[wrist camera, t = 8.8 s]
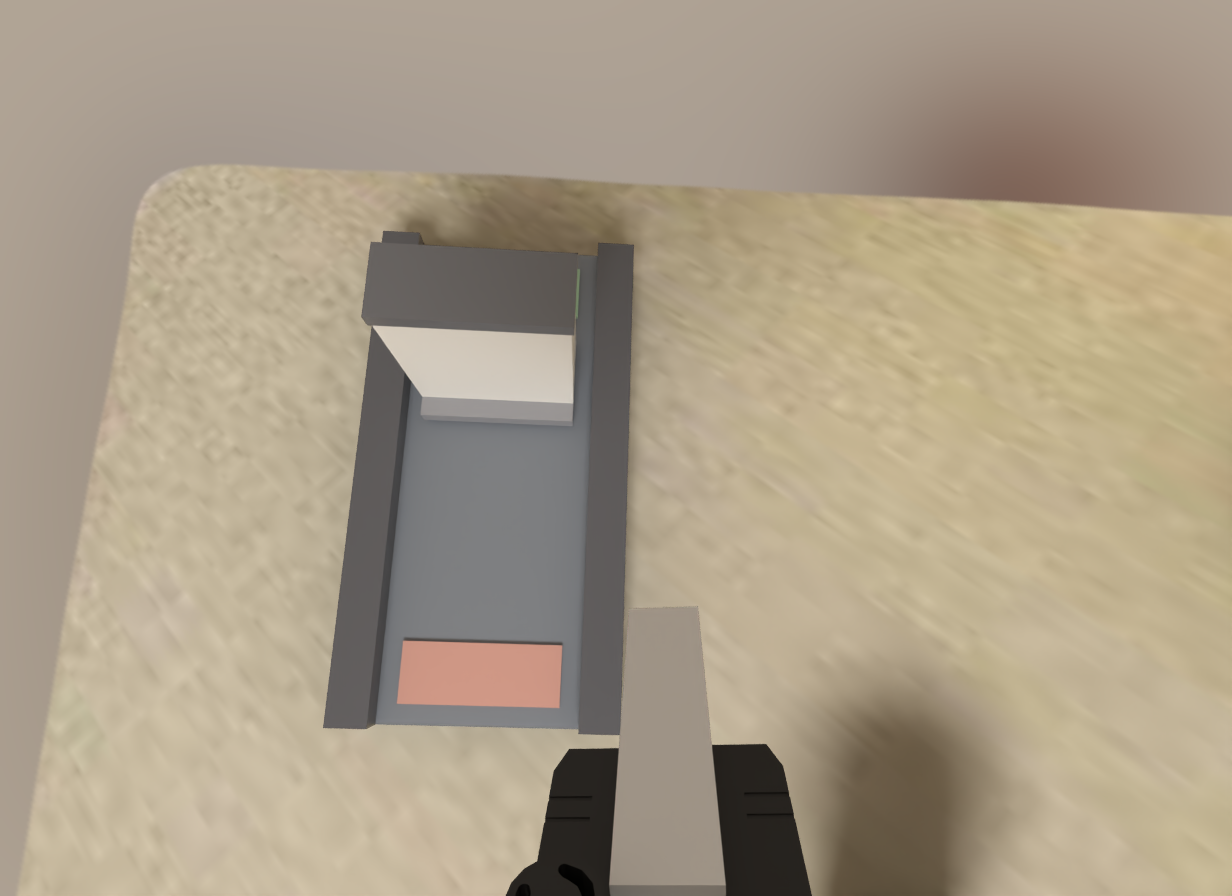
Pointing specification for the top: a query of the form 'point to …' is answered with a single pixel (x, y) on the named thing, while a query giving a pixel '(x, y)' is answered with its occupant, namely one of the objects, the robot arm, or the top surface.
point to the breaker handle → (479, 329)
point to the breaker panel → (491, 546)
